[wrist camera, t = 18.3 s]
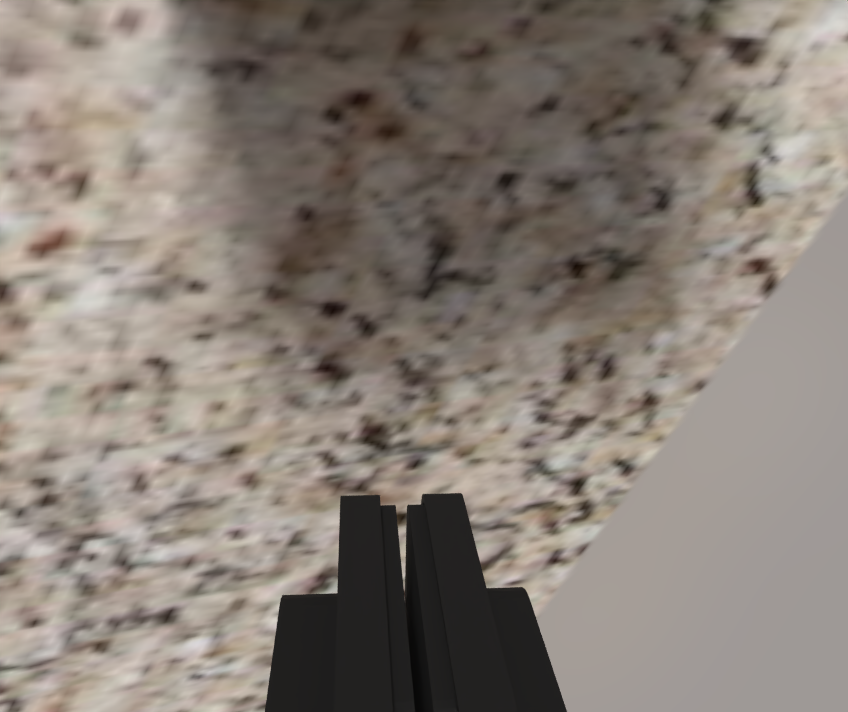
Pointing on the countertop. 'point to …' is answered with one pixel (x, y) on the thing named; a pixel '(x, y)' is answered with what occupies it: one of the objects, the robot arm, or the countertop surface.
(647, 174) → the countertop surface
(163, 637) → the countertop surface
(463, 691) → the robot arm
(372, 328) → the countertop surface
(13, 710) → the countertop surface
